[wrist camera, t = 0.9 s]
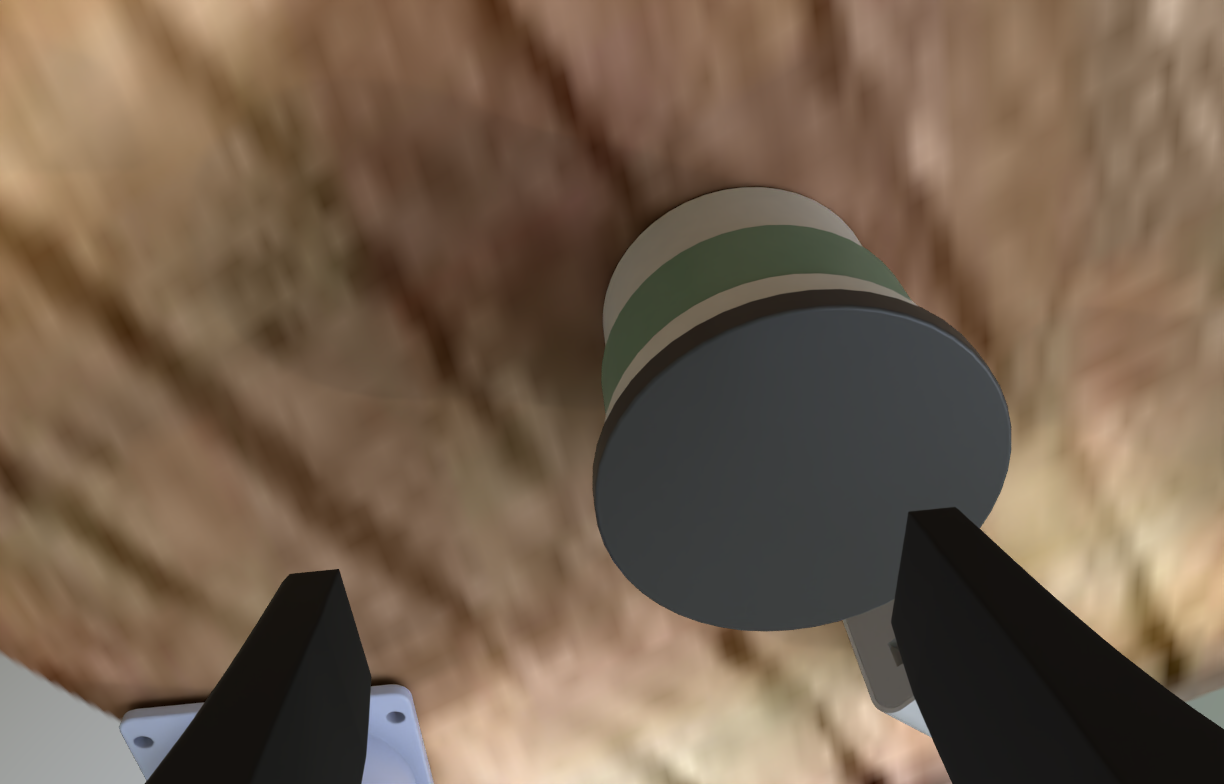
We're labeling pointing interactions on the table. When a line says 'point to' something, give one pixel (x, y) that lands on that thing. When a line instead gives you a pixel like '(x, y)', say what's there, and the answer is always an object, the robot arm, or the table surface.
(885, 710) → the usb wall charger
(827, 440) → the coffee cup
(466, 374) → the table surface
